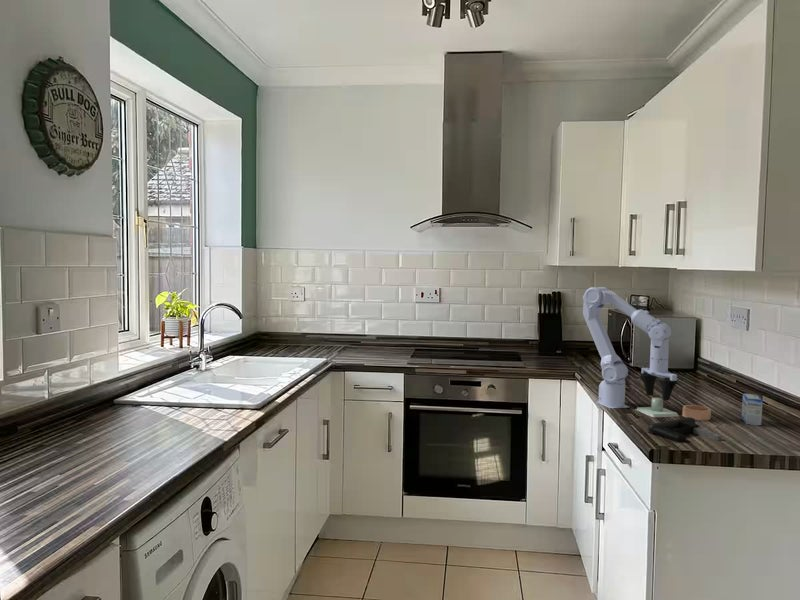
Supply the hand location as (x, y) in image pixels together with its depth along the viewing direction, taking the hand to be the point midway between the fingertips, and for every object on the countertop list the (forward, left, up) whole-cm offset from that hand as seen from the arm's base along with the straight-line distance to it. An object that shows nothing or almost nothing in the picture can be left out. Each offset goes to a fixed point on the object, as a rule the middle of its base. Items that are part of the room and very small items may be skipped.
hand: (657, 397), depth 197 cm
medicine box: (+14, +25, -6) cm, 29 cm away
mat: (0, 0, -6) cm, 6 cm away
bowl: (+7, +10, -6) cm, 13 cm away
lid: (0, 0, -5) cm, 5 cm away
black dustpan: (+23, -6, -6) cm, 24 cm away
